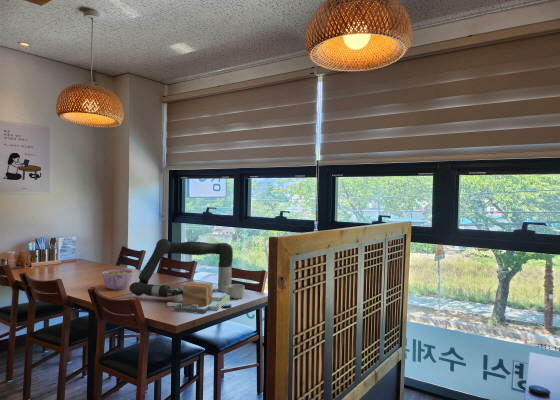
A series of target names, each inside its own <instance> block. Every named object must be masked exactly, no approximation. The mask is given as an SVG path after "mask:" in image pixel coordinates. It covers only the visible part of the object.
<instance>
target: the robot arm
mask: <svg viewBox="0 0 560 400" xmlns="http://www.w3.org/2000/svg"><path fill="white" fill-rule="evenodd" d="M155 244H156V245H155V247H154V250H153V251H152V252H153V253H152V254H151V256H150V258H149V259H148V261H147V263H146V264H145V265H144V266H143V268H142V270H141V272H140V273H139V275H138V279H139V281H135V282H134V281H133V282H132V283H131V284H129V287H128V288H129V292H130V293H132V294H134V295H135V296H136V297H140V296H142V295H145V296H148V297H149V296H150V297H156V298H168V297H173V296H175V297H176V296H180V295H181V296H182V295H183V288H180V287H176V288H175V287H170V285H168V284H152V283H150V284H149V281H150V279H151V278H152V276H153V274H154V273H155V271H156V269H157V266H158V265H159V262H160V261H161V259H162V258H163V257H164V255H169V254H170V255H171V254H179V255H190V256H203V255H205V256H206V255H211V254H212V255H218V256H219V257H218V259H219V260H218V267H217V268H218V271H217V272H218V274H217V275H218V277H217V291H218V292H220V293H225V292H224V291H223V288H224V287H225V286H227V287H228V286H229V285H231V284H232V272H233V269H232V266H233V265H232V264H233V257H234V256H233V254H234V250H233V249H234V248H233V247H232V245H231V244H229V243H227V242H222V243H219V242H218V243H217V242H216V243H210V242H203V241H193V240H191V241H182V242H172V241H171V242H170V241H169V240H168V239H167V238H160V239H159V240H158V241H157V242H156V243H155ZM225 291H226V292H228V289H227V288H225Z"/></svg>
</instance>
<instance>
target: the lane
mask: <svg viewBox="0 0 560 400" xmlns="http://www.w3.org/2000/svg"><path fill="white" fill-rule="evenodd" d="M181 298H182V299H183V295H181ZM230 298H231V297H230V295H227V294H226V296H224V297H221V296H212V301H216V300H221V301H218V302H217V303H216V306H214V305H212V306H211V305H208V306H206V307H204V308H199V306H198V305H192V306H191V305H189V306H188V307H186V306H183V303H182V302H169V301H168V302H167V304H166V306H167V307H171V306H175V307H173V311H174V310H175V311H174V312H181V311H187V312H186V313H192V312H197V313H196V314H203V313H205V314H206V312H207V311H208V312H210V311H217V310H218V311H219V310H221V309H222V308H223V307H224V306H225V305H224V304H226V303H227V302H228V301H229V302H230V301H231V299H230ZM229 302H228V303H229ZM228 303H227V304H228ZM227 304H226V305H227ZM223 305H224V306H223ZM222 306H223V307H222ZM221 307H222V308H221ZM220 308H221V309H220ZM189 311H190V312H189ZM208 312H207V313H208Z"/></svg>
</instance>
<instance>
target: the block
mask: <svg viewBox="0 0 560 400" xmlns="http://www.w3.org/2000/svg"><path fill="white" fill-rule="evenodd" d="M182 290H183V298H182V305H183V304H184V305H183V306H191V305H198V307H203V306H206V307H208V306H210V305H211V304H212V303H213V300H212V297H213V283H212V282H201V281H189V282H187V283H185V284H183V285H182ZM211 302H212V303H211ZM210 303H211V304H210ZM207 305H208V306H207Z"/></svg>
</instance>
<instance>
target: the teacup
mask: <svg viewBox="0 0 560 400" xmlns="http://www.w3.org/2000/svg"><path fill="white" fill-rule="evenodd" d="M225 288H227V289H228V292H226V291H225ZM223 291H224V292H223V293H225V294H226V296H227V295H230V298H231V299H232V298H234V299H233V300H239V298H240V299H242V297H244V295H245V285H244V284H240V283H231V285H229V286H228V287H227V286H225V287H224V288H223Z"/></svg>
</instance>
